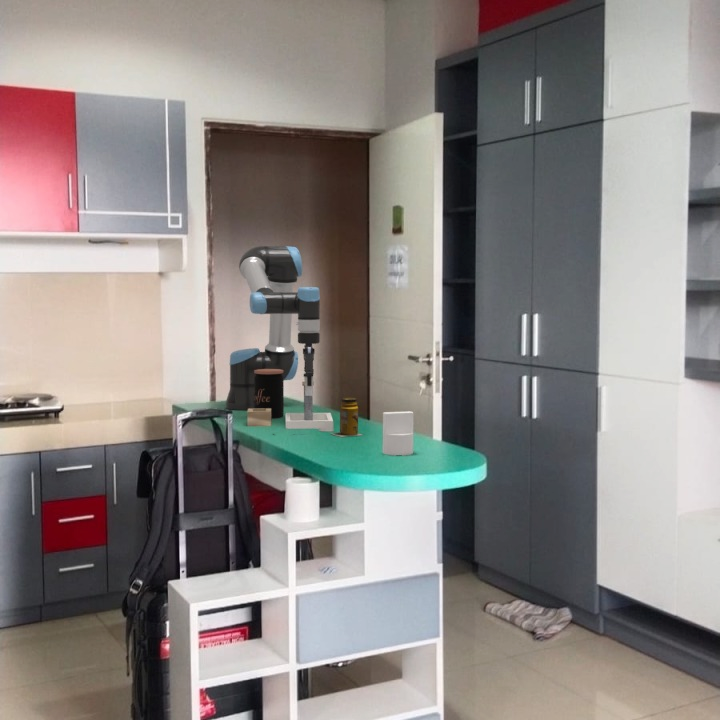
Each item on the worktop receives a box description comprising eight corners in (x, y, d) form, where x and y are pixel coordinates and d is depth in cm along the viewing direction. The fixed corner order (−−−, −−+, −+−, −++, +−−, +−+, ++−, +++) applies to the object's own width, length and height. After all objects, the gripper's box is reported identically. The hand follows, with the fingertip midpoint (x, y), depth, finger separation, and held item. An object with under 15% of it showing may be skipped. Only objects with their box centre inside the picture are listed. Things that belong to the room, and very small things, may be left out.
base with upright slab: (388, 456, 276) (388, 415, 275) (378, 450, 284) (379, 411, 283) (417, 454, 278) (417, 414, 277) (407, 449, 287) (407, 410, 286)
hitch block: (248, 425, 332) (248, 408, 332) (271, 425, 333) (271, 408, 332) (247, 429, 324) (247, 411, 324) (270, 428, 325) (270, 411, 324)
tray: (285, 422, 339) (285, 413, 339) (330, 422, 341) (330, 412, 340) (285, 431, 319) (285, 421, 319) (333, 431, 321) (333, 420, 320)
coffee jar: (248, 418, 349) (248, 369, 347) (273, 416, 355) (273, 368, 354) (263, 422, 340) (263, 372, 339) (289, 419, 347) (289, 370, 345)
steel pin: (302, 423, 332) (302, 381, 330) (314, 422, 332) (313, 381, 331) (303, 424, 328) (302, 382, 327) (314, 424, 328) (314, 382, 327)
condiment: (363, 435, 313) (363, 399, 312) (341, 437, 309) (341, 400, 308) (351, 432, 319) (351, 396, 318) (329, 434, 315) (329, 398, 314)
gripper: (297, 330, 339) (297, 389, 341) (298, 333, 315) (298, 397, 316) (318, 330, 340) (318, 389, 342) (321, 333, 315) (321, 397, 317)
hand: (308, 393), depth 329 cm, fingers open, 13 cm apart
